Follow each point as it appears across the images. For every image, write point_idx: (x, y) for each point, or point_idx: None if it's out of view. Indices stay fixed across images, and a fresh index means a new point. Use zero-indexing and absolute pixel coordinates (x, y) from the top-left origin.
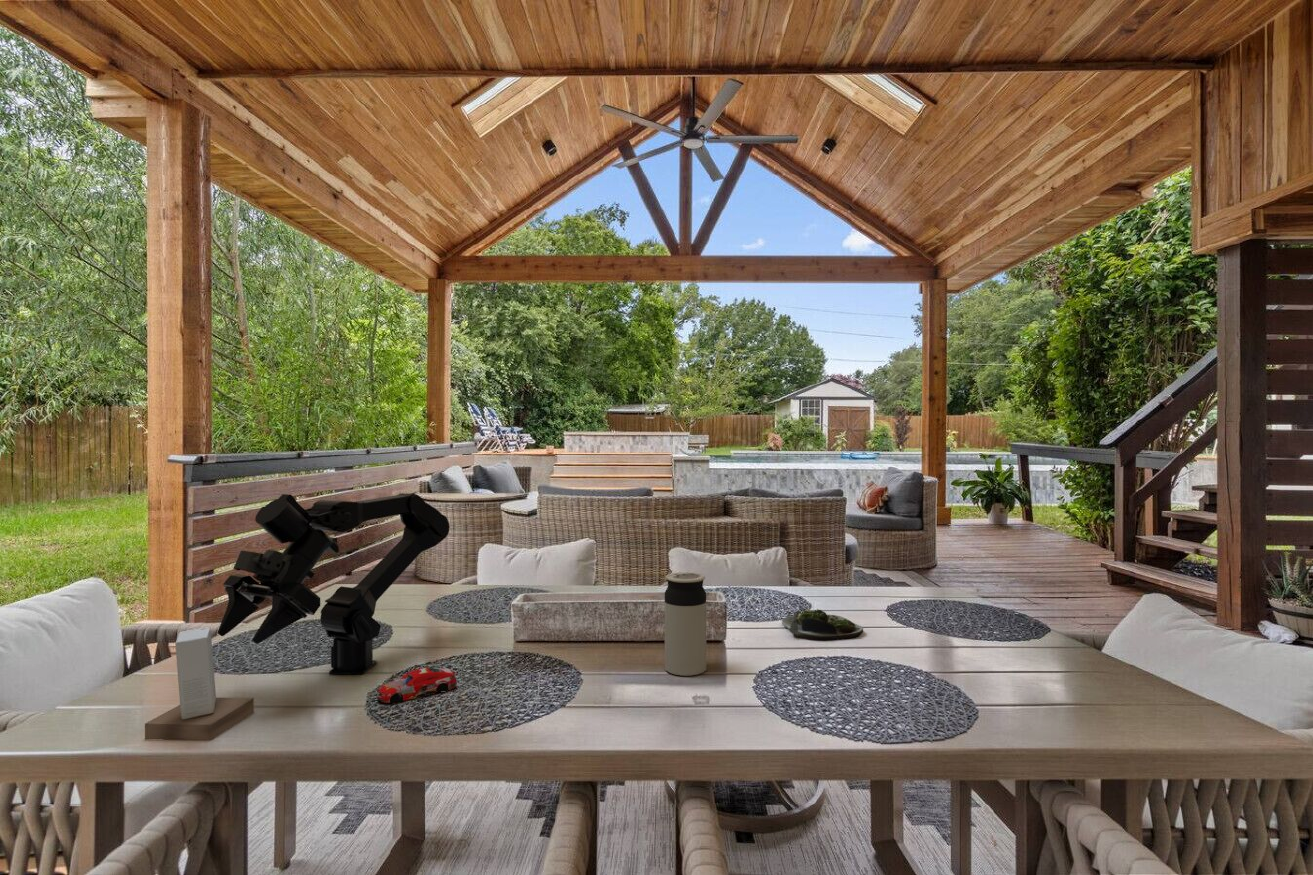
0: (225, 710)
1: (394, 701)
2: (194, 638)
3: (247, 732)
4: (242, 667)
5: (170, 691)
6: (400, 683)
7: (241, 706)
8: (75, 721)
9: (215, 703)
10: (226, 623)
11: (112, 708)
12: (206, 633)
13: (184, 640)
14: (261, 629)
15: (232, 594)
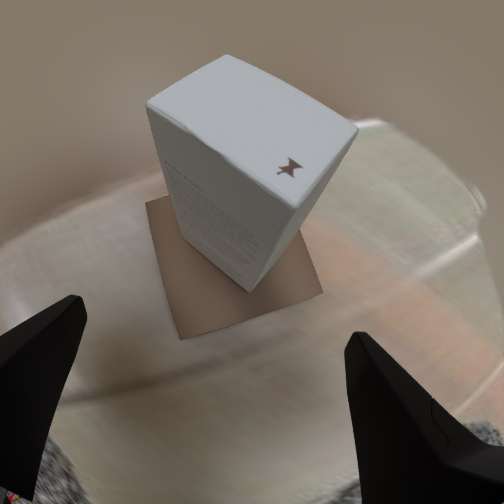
0: (177, 262)
1: None
2: (188, 81)
3: (116, 259)
4: None
5: (437, 339)
6: None
7: (167, 296)
8: (430, 202)
9: (237, 284)
10: (369, 375)
11: (440, 252)
12: (190, 122)
13: (209, 64)
14: (31, 318)
15: (496, 469)
